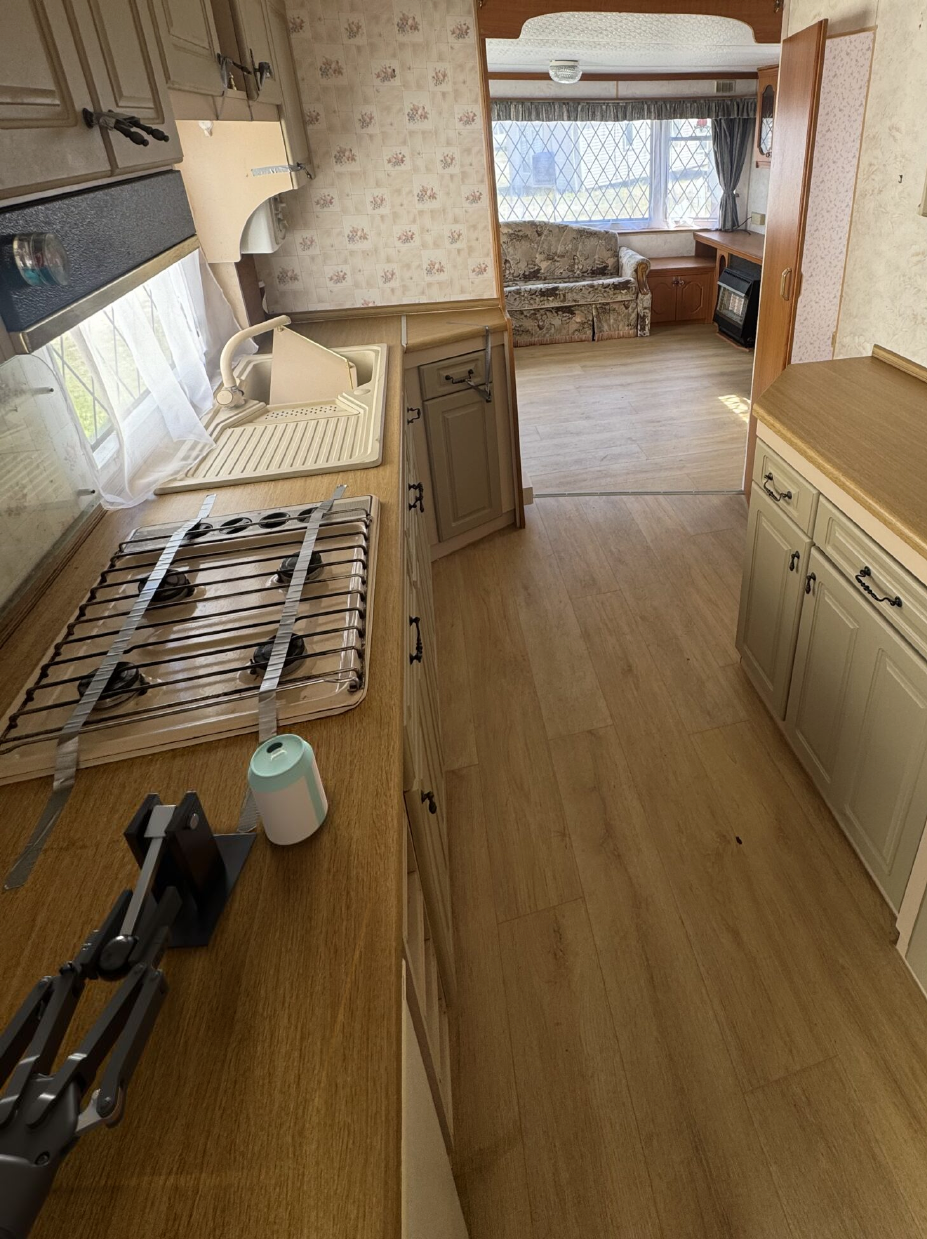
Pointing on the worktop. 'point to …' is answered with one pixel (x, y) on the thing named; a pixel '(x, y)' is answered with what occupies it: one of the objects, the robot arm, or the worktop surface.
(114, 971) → the tap lever
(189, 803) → the lever stand
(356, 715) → the worktop surface
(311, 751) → the can
